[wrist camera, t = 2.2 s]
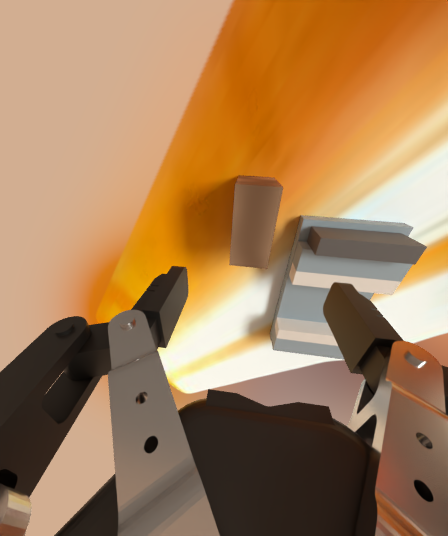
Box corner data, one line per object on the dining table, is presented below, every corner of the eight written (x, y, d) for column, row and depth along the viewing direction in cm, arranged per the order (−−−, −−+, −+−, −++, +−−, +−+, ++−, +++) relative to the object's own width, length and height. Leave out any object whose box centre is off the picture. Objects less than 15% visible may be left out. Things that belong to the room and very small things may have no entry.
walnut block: (234, 239, 26) (229, 265, 20) (239, 175, 22) (235, 184, 16) (263, 241, 26) (267, 268, 20) (274, 177, 22) (283, 187, 16)
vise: (300, 215, 23) (309, 226, 20) (404, 223, 22) (431, 235, 19) (269, 333, 35) (272, 352, 31) (337, 341, 34) (346, 362, 31)
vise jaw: (302, 225, 22) (311, 237, 19) (411, 234, 21) (438, 247, 18) (289, 274, 26) (294, 290, 23) (381, 283, 25) (399, 302, 22)
